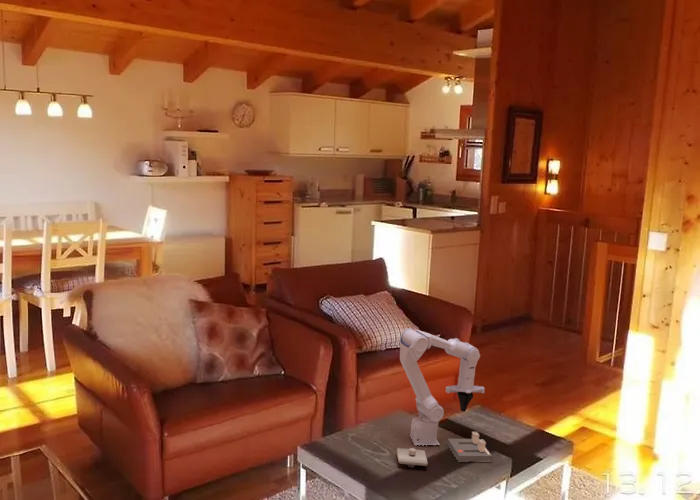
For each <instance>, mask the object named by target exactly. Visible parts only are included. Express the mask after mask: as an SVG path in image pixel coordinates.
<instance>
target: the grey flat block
mask: <svg viewBox="0 0 700 500" xmlns="http://www.w3.org/2000/svg"><path fill="white" fill-rule="evenodd" d="M471 440H472V438H447V441H446V446H447V445H448V446H449V447H448V446H447V447H448V449H449V448H450V449H449V450H450V452H451V451H452V452H451V454H452V455H453V454H454V455H453V456H454V458H455V457H456V458H455V460H456V461H457V460H458V461H457V463H459V462H469V461H482V460H488V459H493V455H492V454H491V452H490V451H489V449H487V447H486V446H485V451H484V452H480V451H479V450H478V444H473V442H472V441H471ZM478 442H479V441H478Z"/></svg>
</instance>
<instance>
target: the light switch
mask: <svg viewBox="0 0 700 500" xmlns="http://www.w3.org/2000/svg"><path fill="white" fill-rule="evenodd" d="M396 455H397V460H398V461H397V462H398V464H402V465H406V466H408V468H410V467H411V469H413V468H414V467H415V466H424V467H427V466H428V458H427V454H426V452H425V450H424V449H416V448H415V447H410V448H402V447H397V448H396Z"/></svg>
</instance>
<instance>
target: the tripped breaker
mask: <svg viewBox="0 0 700 500" xmlns="http://www.w3.org/2000/svg"><path fill="white" fill-rule="evenodd" d="M478 441H479V442H478V450H479V451H480V452H484V451H485V447H486V444H487V442H486V441H485V440H484V439H483V438H482V439H480V438H479V439H478Z"/></svg>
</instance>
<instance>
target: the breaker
mask: <svg viewBox="0 0 700 500" xmlns="http://www.w3.org/2000/svg"><path fill="white" fill-rule="evenodd" d="M471 439H472V440H471V441H472V442H473V444H478V439H480V434H479V433H478V431H471Z"/></svg>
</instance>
